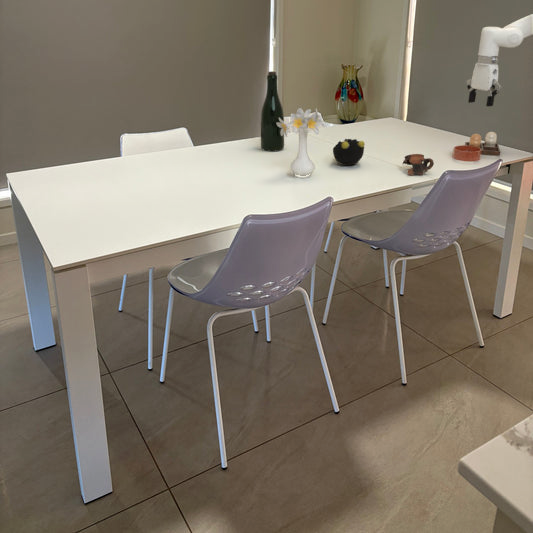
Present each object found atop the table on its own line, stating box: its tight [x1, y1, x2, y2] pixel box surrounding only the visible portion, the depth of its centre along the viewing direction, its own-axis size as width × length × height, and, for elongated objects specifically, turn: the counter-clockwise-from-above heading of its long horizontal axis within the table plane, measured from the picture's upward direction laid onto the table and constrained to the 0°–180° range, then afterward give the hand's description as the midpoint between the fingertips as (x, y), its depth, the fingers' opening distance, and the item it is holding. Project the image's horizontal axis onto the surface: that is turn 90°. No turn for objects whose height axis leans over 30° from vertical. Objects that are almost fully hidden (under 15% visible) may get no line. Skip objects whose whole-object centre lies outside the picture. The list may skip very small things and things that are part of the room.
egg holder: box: [464, 141, 501, 157], centre depth 253 cm, size 14×14×2 cm
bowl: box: [452, 144, 482, 162], centre depth 242 cm, size 11×11×4 cm
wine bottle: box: [260, 70, 285, 152], centre depth 255 cm, size 10×10×33 cm
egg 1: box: [468, 133, 482, 148], centre depth 249 cm, size 5×5×8 cm
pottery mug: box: [402, 153, 435, 176], centre depth 226 cm, size 12×10×8 cm
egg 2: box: [484, 131, 498, 147], centre depth 254 cm, size 5×5×8 cm
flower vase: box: [276, 107, 326, 179], centre depth 218 cm, size 13×18×25 cm
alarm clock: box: [332, 138, 366, 166], centre depth 236 cm, size 12×15×15 cm
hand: (480, 104), depth 241 cm, fingers open, 9 cm apart
